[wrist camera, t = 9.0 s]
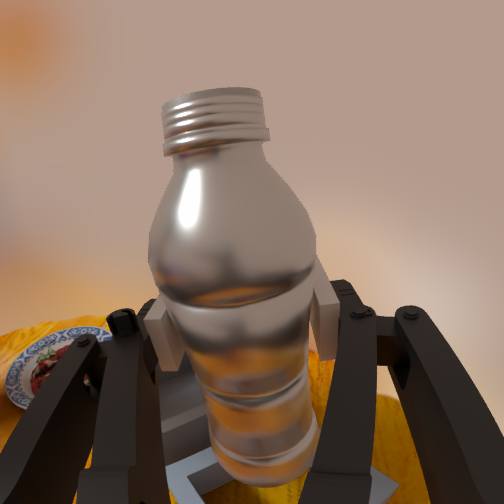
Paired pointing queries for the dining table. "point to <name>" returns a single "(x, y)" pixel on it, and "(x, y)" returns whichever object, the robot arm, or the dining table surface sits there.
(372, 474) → the bottle holder
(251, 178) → the plastic bottle
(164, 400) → the bin
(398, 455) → the dining table surface
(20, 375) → the ceramic plate
